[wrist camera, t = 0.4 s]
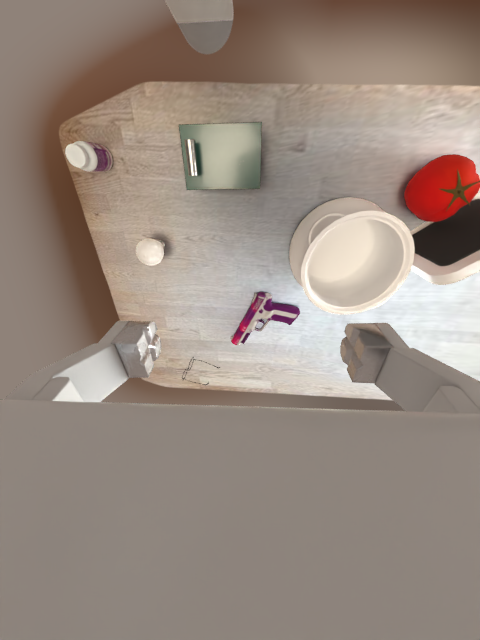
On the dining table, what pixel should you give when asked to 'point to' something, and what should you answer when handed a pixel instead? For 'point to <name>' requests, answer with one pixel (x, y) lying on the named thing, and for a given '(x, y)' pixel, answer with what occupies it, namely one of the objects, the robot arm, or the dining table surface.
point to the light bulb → (150, 251)
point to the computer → (449, 246)
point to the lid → (221, 155)
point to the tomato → (442, 188)
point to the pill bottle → (89, 156)
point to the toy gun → (263, 316)
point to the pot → (350, 255)
